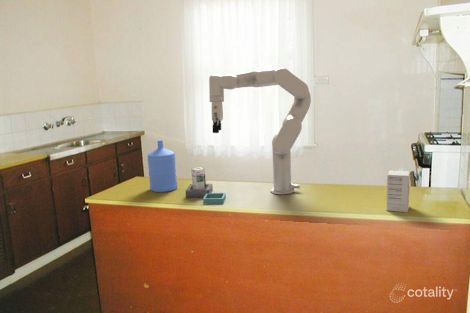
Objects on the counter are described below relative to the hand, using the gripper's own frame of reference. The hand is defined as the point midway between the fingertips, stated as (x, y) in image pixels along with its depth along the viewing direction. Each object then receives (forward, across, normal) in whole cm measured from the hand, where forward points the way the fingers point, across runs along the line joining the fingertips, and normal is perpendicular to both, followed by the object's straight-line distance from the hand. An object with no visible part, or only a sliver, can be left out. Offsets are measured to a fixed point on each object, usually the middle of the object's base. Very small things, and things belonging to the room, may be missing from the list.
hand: (217, 131), depth 229 cm
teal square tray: (+34, -13, 0) cm, 36 cm away
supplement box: (+31, -30, -87) cm, 97 cm away
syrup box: (+35, -1, +10) cm, 36 cm away
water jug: (+36, +11, +33) cm, 50 cm away
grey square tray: (+34, -1, +10) cm, 36 cm away
